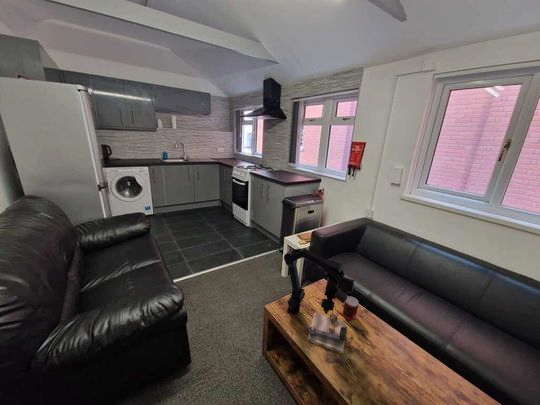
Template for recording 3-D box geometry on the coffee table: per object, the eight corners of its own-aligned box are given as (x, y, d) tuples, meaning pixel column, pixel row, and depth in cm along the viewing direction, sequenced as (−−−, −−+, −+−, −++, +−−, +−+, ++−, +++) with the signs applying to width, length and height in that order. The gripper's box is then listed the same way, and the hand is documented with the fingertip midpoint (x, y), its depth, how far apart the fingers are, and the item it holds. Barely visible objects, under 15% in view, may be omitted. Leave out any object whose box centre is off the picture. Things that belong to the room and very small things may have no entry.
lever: (308, 334, 115) (310, 322, 113) (309, 328, 118) (310, 317, 116) (344, 345, 110) (346, 333, 108) (344, 339, 113) (346, 327, 111)
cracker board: (307, 340, 114) (308, 333, 112) (314, 314, 131) (315, 308, 129) (343, 354, 108) (344, 347, 106) (345, 324, 125) (346, 318, 123)
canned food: (353, 311, 135) (356, 296, 131) (357, 321, 127) (360, 306, 124) (341, 309, 135) (343, 295, 132) (343, 320, 128) (346, 305, 124)
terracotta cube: (328, 330, 118) (329, 327, 117) (329, 327, 120) (329, 324, 119) (334, 332, 117) (334, 329, 116) (334, 329, 119) (335, 326, 118)
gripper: (346, 301, 105) (340, 326, 110) (349, 279, 121) (344, 301, 126) (323, 293, 109) (318, 318, 114) (329, 273, 125) (324, 295, 130)
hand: (327, 307), depth 121 cm, fingers open, 9 cm apart
